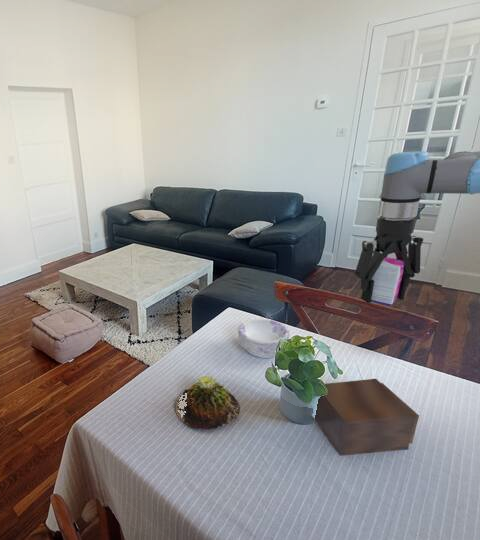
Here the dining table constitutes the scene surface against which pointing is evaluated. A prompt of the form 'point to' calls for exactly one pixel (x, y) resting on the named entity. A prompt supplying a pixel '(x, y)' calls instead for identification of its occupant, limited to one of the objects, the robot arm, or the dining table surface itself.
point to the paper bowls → (262, 336)
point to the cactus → (208, 405)
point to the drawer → (413, 411)
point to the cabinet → (364, 418)
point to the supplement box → (387, 281)
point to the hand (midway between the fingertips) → (382, 299)
